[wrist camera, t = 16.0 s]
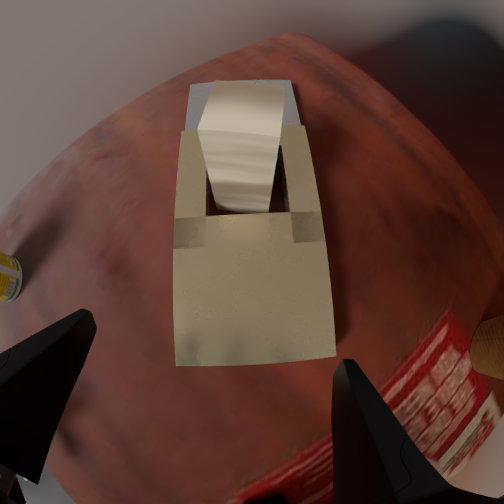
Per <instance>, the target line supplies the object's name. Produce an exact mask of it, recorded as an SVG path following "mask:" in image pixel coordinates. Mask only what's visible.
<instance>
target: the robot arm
mask: <svg viewBox="0 0 504 504" xmlns="http://www.w3.org/2000/svg"><path fill="white" fill-rule="evenodd" d="M96 329H97V328H96V324H95V321H94V318H93V315H92V312H91V311H89V310H86V309H80V310H78V311H76V312H74V313H72V314H70V315H68V316H67V317H65V318H63V319H61V320H59V321H57V322H56V323H54V324H52V325H50V326H48V327H46V328H45V329H43V330H41V331H39V332H37V333H36V334H34V335H32V336H30V337H29V338H27V339H25V340H23V341H22V342H20V343H18V344H16V345H14V346H13V347H12V348H9V349H7V350H6V351H4V352H2V353H0V504H25V503H26V501H25V499H24V496H23V493H22V490H21V488H20V485H19V482H18V479H17V478H16V474H18V475H20V476H22V477H24V478H26V479H27V480H29V481H31V482H34V483H35V484H38V483H39V480H40V477H41V473H42V470H43V467H44V464H45V460H46V457H47V454H48V451H49V448H50V445H51V442H52V439H53V437H54V434H55V431H56V429H57V426H58V423H59V421H60V418H61V416H62V413H63V411H64V408H65V406H66V404H67V401H68V399H69V397H70V394H71V392H72V390H73V387H74V385H75V383H76V381H77V379H78V376H79V374H80V372H81V370H82V368H83V366H84V363H85V361H86V358H87V355H88V352H89V350H90V347H91V344H92V342H93V339H94V336H95V334H96ZM331 423H332V443H333V504H504V495H503V496H501V497H500V498H492V497H488V496H483V495H479V494H476V493H472V492H468V491H465V490H461V489H458V488H456V487H454V486H452V485H451V484H449V483H448V482H447V481H446V480H445V479H444V478H443V477H442V476H441V475H440V474H439V473H438V471H437V470H436V469H435V468H434V467H433V466H432V465H431V464H430V462H429V461H428V460H427V459H426V458H425V457H424V455H423V454H422V453H421V452H420V450H419V449H418V448H417V446H416V445H415V444H414V442H413V441H412V440H411V438H410V437H409V435H408V434H406V431H405V430H404V428H403V427H402V425H401V424H400V423H399V421H398V420H397V418H396V417H395V416H394V414H393V413H392V411H391V410H390V409H389V407H388V406H387V404H386V403H385V402H384V400H383V399H382V397H381V396H380V395H379V393H378V392H377V390H376V389H375V388H374V386H373V385H372V384H371V382H370V381H369V379H368V378H367V377H366V375H365V374H364V373H363V371H362V370H361V368H360V367H359V366H358V364H357V363H356V362H355V361H354V360H353V359H342V360H341V362H340V363H339V365H338V367H337V369H336V371H335V372H334V375H333V391H332V410H331ZM277 498H280V499H277ZM250 504H290V503H289V501H288V500H287V499H286V498H285V496H284V495H283V494H276V495H273V496H271V497H268V498H265V499H263V500H260V501H256V502H253V503H250Z"/></svg>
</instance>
